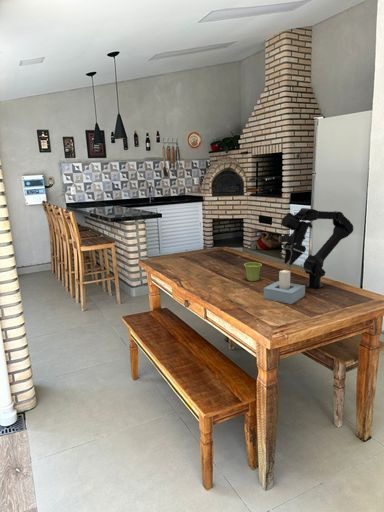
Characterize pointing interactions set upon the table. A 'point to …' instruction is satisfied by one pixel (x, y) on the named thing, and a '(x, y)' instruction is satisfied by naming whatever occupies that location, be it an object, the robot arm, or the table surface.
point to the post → (284, 279)
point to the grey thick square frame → (284, 293)
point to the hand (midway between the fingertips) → (287, 264)
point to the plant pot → (252, 270)
